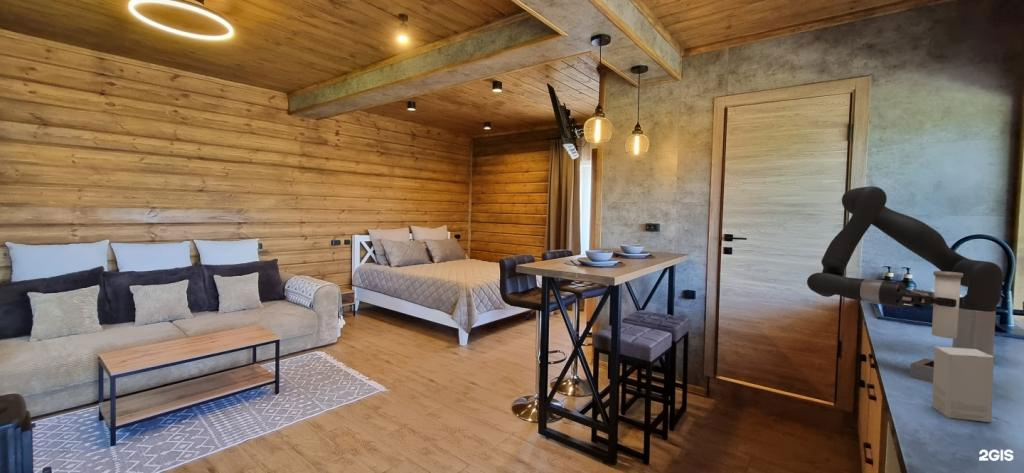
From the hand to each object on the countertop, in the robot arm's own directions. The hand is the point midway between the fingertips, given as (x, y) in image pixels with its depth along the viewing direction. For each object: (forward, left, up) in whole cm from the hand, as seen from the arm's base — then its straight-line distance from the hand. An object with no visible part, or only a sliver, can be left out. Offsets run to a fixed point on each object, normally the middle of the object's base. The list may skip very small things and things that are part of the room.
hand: (959, 302), depth 117 cm
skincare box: (+22, +7, -24) cm, 34 cm away
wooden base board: (-6, -3, -24) cm, 25 cm away
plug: (0, -3, -10) cm, 10 cm away
